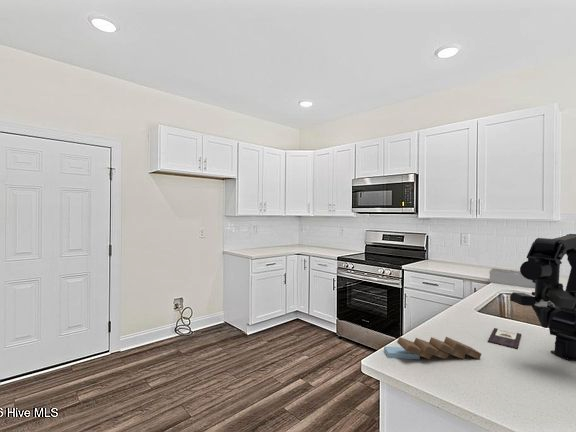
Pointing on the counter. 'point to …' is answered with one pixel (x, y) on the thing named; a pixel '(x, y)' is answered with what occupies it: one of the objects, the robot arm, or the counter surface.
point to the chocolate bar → (505, 338)
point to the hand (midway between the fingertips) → (544, 327)
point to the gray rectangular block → (510, 278)
